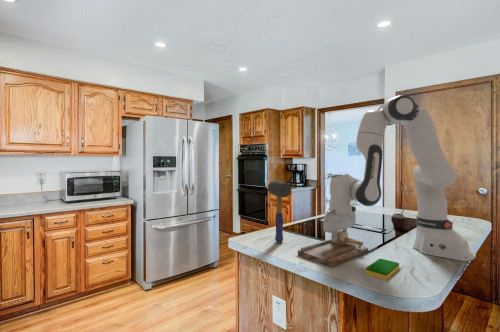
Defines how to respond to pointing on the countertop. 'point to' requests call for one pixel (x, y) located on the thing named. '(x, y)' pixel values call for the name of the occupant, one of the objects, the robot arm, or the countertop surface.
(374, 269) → the dish sponge
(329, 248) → the walnut board
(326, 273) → the countertop surface
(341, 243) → the marking gauge
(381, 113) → the robot arm
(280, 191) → the rubber mallet
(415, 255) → the countertop surface
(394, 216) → the mate gourd
